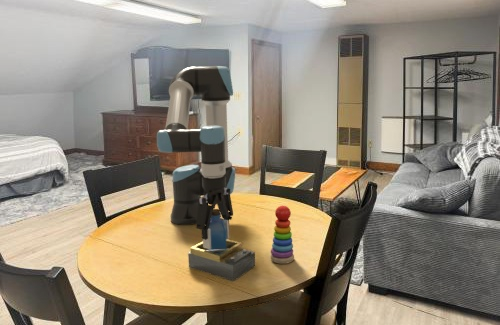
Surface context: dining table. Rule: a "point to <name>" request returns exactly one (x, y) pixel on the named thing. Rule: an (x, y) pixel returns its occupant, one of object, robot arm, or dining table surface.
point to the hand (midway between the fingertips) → (216, 242)
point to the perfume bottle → (217, 231)
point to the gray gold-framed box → (222, 260)
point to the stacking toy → (282, 237)
